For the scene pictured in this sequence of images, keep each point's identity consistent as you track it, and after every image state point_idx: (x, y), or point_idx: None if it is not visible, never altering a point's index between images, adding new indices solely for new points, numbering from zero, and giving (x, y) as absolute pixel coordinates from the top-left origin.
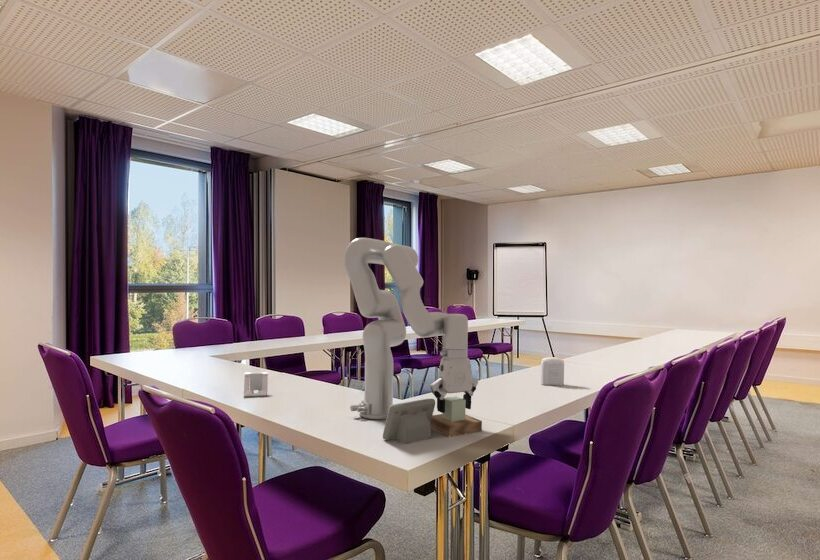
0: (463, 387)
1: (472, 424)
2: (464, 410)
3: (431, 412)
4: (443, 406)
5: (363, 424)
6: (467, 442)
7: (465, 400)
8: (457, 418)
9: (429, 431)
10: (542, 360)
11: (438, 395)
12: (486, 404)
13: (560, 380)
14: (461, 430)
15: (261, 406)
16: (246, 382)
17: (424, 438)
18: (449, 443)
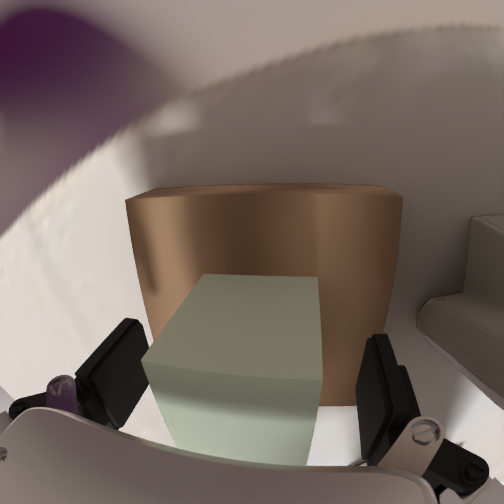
0: (103, 477)
1: (199, 192)
2: (189, 305)
3: (494, 323)
4: (396, 365)
5: (484, 423)
6: (343, 59)
7: (144, 356)
8: (266, 283)
9: (493, 225)
10: None
11: (448, 455)
12: None
13: None
14: (294, 187)
15: None
16: None
17: (499, 215)
18: (436, 99)
